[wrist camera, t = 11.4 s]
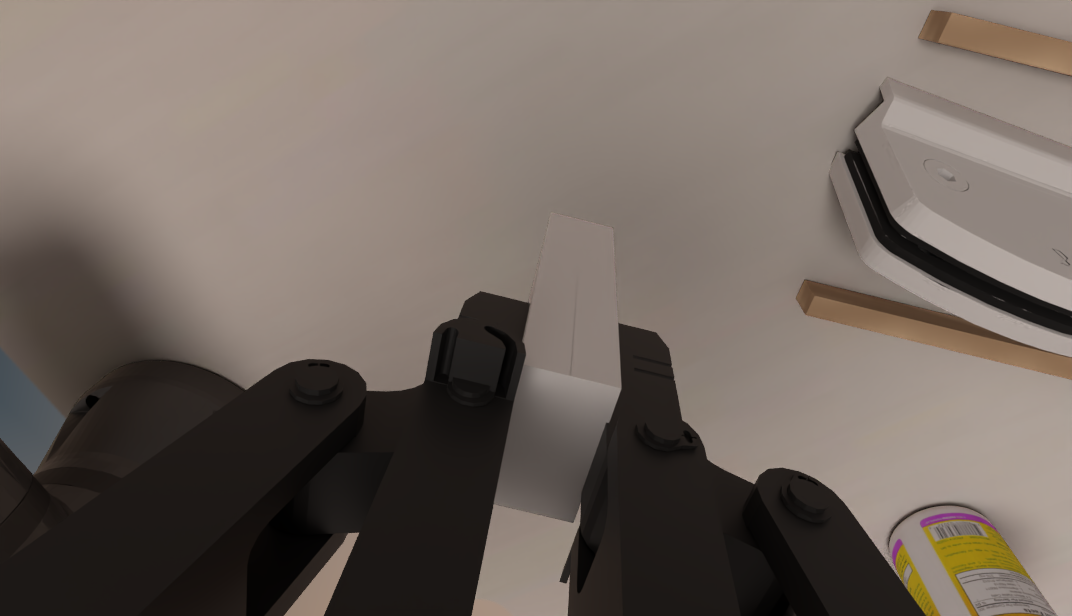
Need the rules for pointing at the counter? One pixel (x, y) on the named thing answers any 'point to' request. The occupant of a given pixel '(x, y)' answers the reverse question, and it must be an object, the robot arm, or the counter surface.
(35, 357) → the counter surface
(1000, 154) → the grey piece
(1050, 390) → the counter surface
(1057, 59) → the frame
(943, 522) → the supplement bottle
